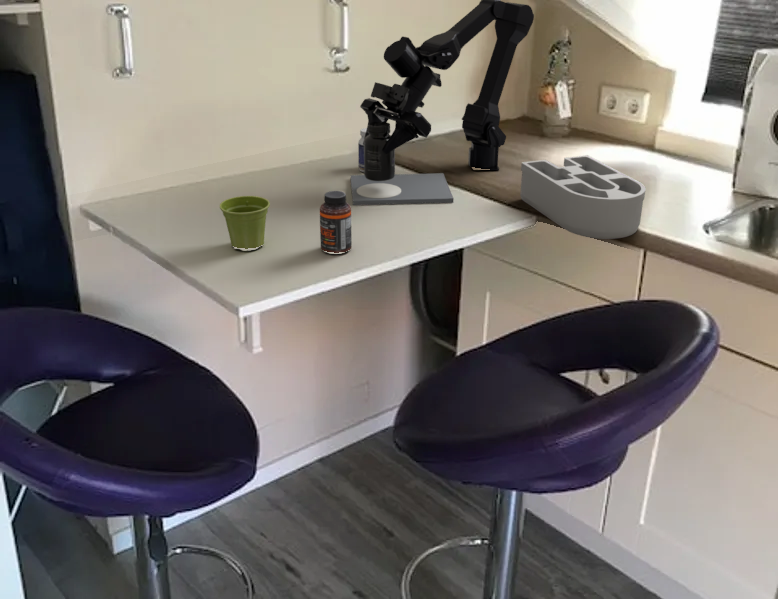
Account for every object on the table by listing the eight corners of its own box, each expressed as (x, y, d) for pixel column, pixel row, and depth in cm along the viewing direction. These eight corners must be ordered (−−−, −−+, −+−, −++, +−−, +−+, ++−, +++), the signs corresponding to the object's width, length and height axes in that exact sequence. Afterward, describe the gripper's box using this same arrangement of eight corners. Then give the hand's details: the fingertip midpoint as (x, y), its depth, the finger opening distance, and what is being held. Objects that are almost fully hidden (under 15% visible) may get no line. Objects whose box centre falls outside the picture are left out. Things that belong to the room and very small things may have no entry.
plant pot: (277, 252, 164) (274, 209, 160) (227, 258, 161) (224, 215, 157) (266, 235, 172) (264, 193, 168) (219, 241, 169) (215, 199, 165)
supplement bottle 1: (314, 252, 164) (312, 195, 159) (332, 241, 168) (330, 186, 163) (340, 258, 161) (338, 201, 156) (357, 248, 166) (357, 192, 161)
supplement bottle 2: (401, 178, 191) (401, 124, 185) (375, 184, 187) (374, 129, 182) (383, 170, 196) (383, 118, 190) (358, 176, 192) (357, 123, 187)
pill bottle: (381, 173, 208) (381, 133, 203) (357, 173, 208) (357, 133, 203) (382, 166, 213) (382, 126, 208) (359, 166, 213) (358, 126, 208)
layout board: (443, 177, 205) (443, 172, 204) (453, 202, 189) (453, 197, 188) (350, 179, 204) (350, 174, 203) (353, 205, 187) (352, 199, 187)
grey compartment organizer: (583, 192, 196) (587, 155, 192) (656, 235, 172) (662, 193, 169) (518, 200, 191) (520, 162, 187) (583, 245, 167) (588, 203, 164)
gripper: (366, 61, 190) (327, 119, 189) (421, 74, 177) (380, 137, 175) (393, 91, 198) (356, 147, 196) (448, 106, 185) (409, 166, 183)
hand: (374, 149), depth 188 cm, fingers closed on supplement bottle 2, 7 cm apart
